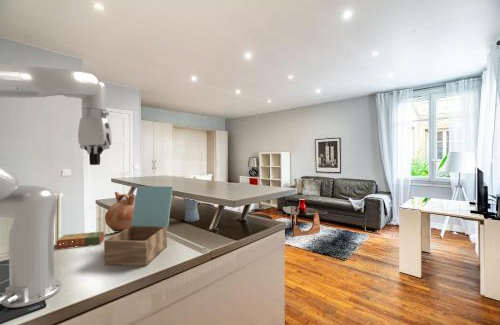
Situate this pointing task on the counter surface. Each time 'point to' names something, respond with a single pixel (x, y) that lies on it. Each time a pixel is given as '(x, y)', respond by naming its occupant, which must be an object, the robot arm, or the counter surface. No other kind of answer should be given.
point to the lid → (152, 206)
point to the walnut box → (135, 246)
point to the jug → (120, 213)
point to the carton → (80, 239)
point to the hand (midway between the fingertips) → (94, 164)
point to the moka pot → (191, 210)
